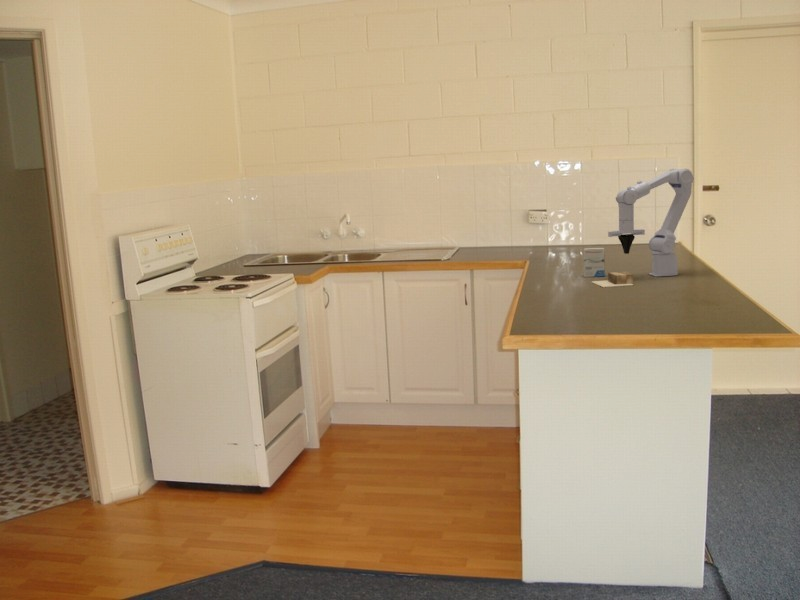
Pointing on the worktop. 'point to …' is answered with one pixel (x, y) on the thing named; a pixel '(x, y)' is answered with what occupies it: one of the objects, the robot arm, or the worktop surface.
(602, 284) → the mat
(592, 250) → the ink box
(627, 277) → the oak slab
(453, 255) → the worktop surface
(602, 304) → the worktop surface
